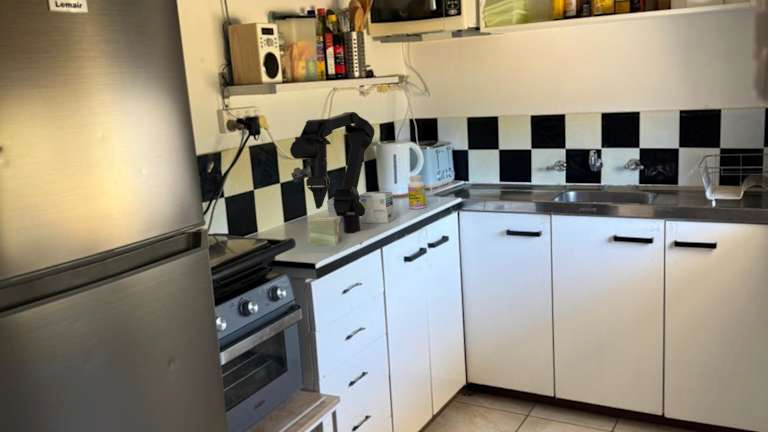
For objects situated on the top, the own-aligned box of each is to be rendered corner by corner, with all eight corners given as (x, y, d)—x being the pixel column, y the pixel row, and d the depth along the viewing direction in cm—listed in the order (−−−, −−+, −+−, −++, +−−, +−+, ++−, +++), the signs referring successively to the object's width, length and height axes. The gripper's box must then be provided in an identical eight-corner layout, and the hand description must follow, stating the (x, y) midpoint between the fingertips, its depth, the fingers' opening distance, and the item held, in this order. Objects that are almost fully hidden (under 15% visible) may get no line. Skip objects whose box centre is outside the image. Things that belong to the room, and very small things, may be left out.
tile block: (315, 242, 231) (313, 218, 229) (339, 241, 229) (337, 217, 228) (311, 246, 226) (308, 221, 225) (335, 245, 224) (333, 220, 223)
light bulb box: (395, 219, 265) (392, 190, 263) (387, 223, 259) (385, 193, 257) (369, 219, 269) (366, 191, 267) (361, 223, 263) (358, 194, 261)
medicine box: (340, 222, 268) (338, 199, 266) (328, 223, 269) (326, 200, 267) (345, 218, 276) (343, 196, 274) (334, 219, 276) (331, 197, 275)
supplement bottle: (406, 209, 285) (404, 177, 282) (413, 206, 290) (411, 175, 288) (421, 209, 281) (419, 177, 279) (428, 206, 287) (426, 174, 285)
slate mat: (308, 245, 232) (307, 242, 232) (349, 243, 230) (349, 240, 230) (292, 256, 217) (292, 254, 217) (337, 255, 214) (336, 252, 214)
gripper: (295, 159, 238) (296, 206, 239) (289, 159, 219) (290, 210, 220) (329, 159, 238) (330, 206, 239) (325, 158, 219) (327, 209, 220)
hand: (319, 207), depth 230 cm, fingers open, 9 cm apart
